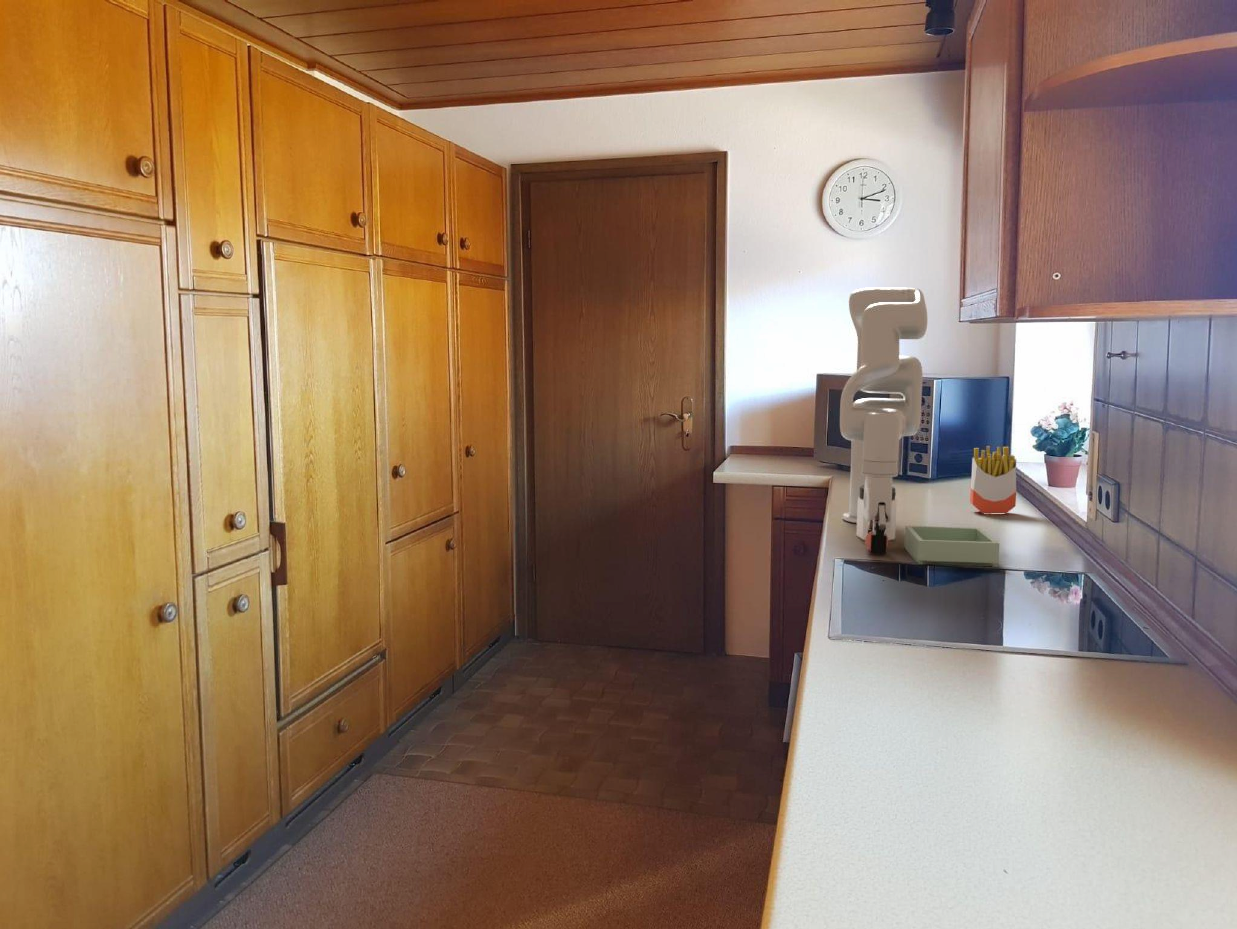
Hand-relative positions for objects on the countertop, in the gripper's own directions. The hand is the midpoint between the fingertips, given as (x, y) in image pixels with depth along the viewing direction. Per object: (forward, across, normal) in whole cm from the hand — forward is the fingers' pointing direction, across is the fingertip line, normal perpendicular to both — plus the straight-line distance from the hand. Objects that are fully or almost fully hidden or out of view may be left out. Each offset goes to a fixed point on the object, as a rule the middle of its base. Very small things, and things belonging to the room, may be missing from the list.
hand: (876, 549), depth 204 cm
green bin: (+1, +2, +15) cm, 15 cm away
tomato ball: (-2, 0, 0) cm, 2 cm away
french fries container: (+1, -54, +38) cm, 66 cm away
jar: (+1, -16, +2) cm, 16 cm away
